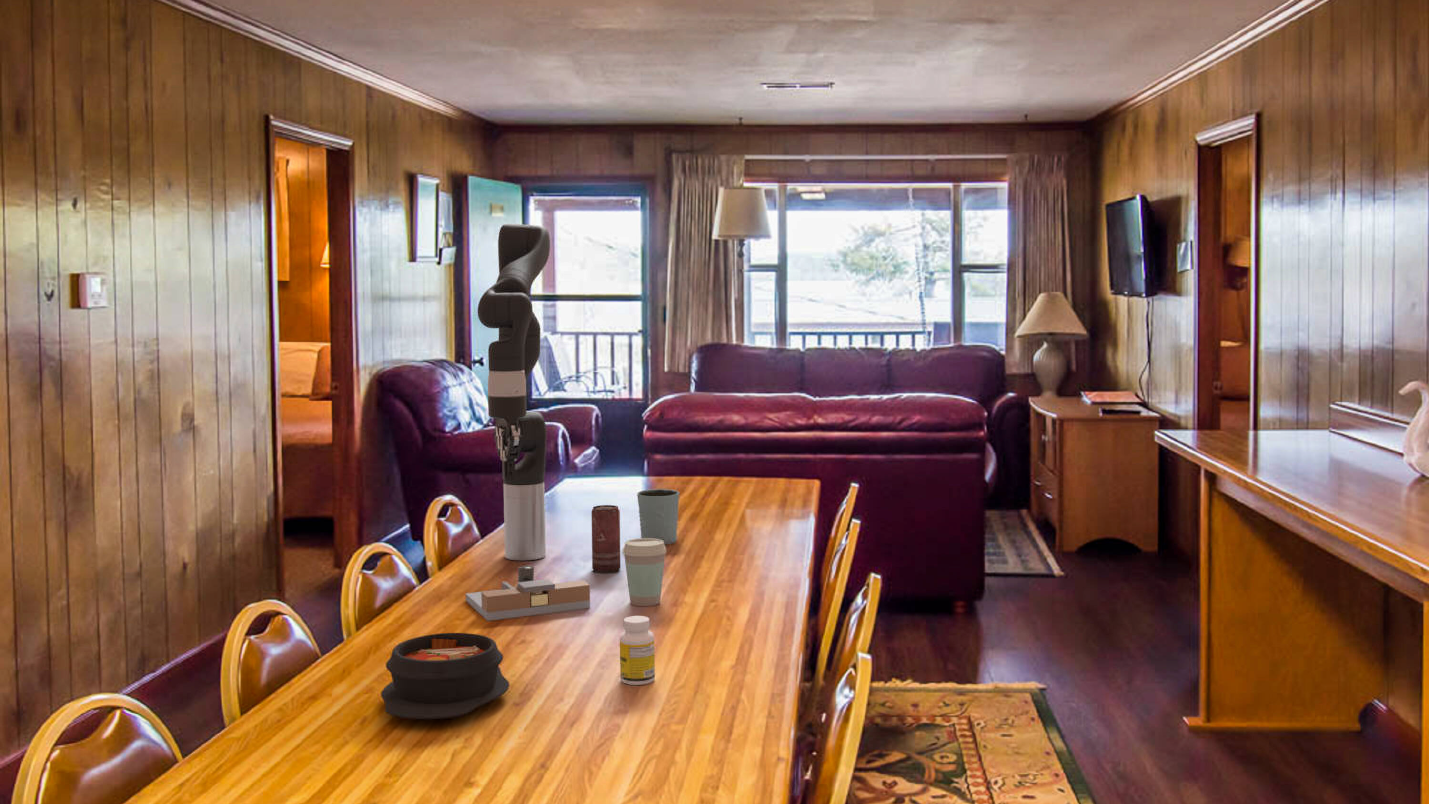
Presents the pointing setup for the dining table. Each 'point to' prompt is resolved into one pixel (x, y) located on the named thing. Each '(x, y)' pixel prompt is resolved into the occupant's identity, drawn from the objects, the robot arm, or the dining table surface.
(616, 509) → the can
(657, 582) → the coffee cup
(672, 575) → the dining table surface
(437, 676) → the casserole
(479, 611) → the door plate
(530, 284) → the robot arm
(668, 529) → the grey tapered cup
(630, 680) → the supplement bottle
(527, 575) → the bolt
